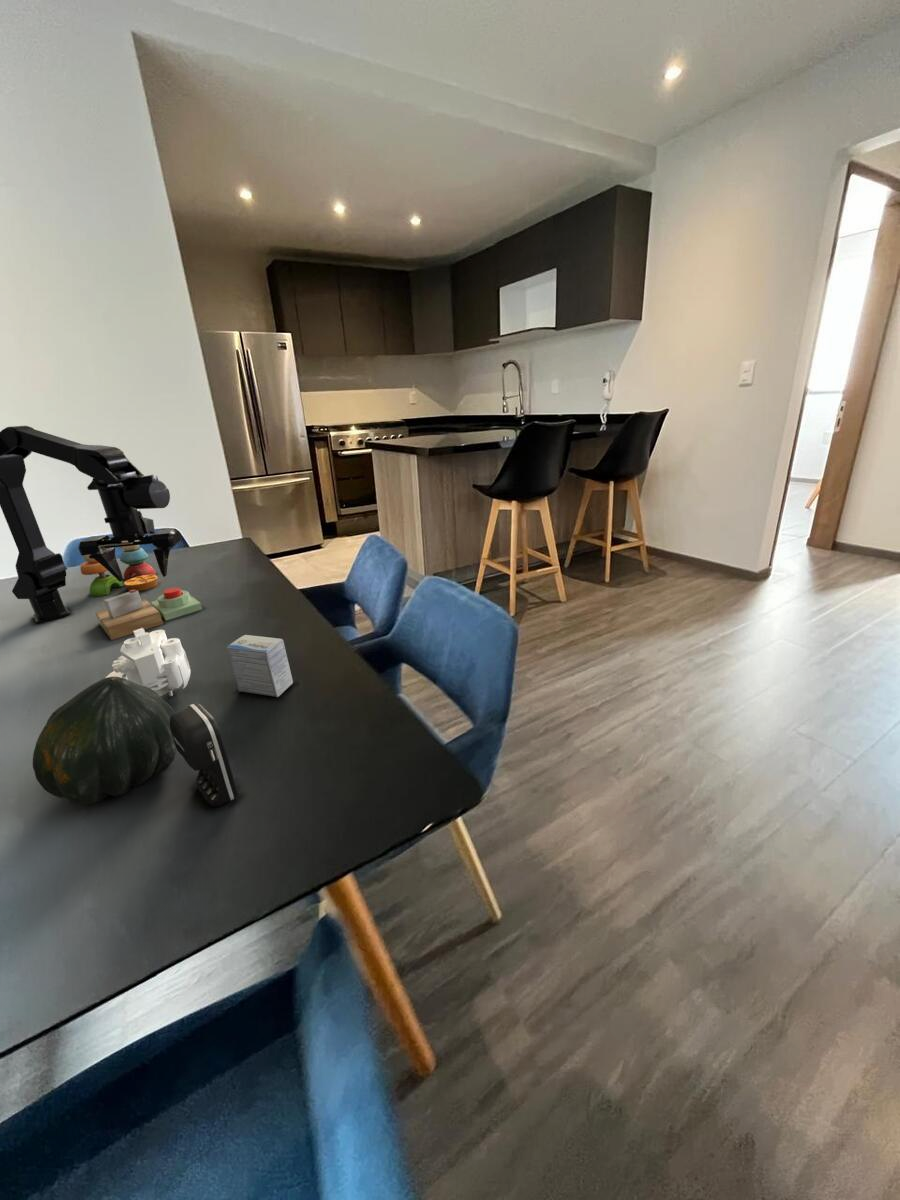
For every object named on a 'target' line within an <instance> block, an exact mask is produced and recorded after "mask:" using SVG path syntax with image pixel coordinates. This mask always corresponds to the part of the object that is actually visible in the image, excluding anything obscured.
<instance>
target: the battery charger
mask: <svg viewBox="0 0 900 1200" xmlns="http://www.w3.org/2000/svg"><path fill="white" fill-rule="evenodd" d="M170 728H171V732H172V736H173V739H174V743H175V746H176V751H178V753H179V754H180V756H182V758H183V759H184V761H185V762H186V764H187V765H188V766H189V767H190V768H191V769H192V770H194V771H198V774H197V778H196V780H195V786H196V788H197V790H198V791H199V792H200V794H201V795H202V796H203V798H204V799H205V800H206V803H208V804H209V805H210V806H211V807H213V808H214V807H220V806H222V805H224V804H227V803H228V802H230V801H231V802H232V801H233V800H235V798H237V797H238V795H239V791H238V788H237V784H236V781H235V778H234V773H233V771H232V767H231V763H230V759H229V757H228V753H227V749H226V746H225V743H224V740H223V736H222V733H221V730H220V727H219V725H218V723H217V721H216V719H215V718H214V716H213V715H212V714H211V713H210V712H209V711H208V710H207V709H206V708H205V707H204V706H203V705H202V704H201V703H200V702H199V703H198V702H197V703H192V704H189V705H188V706H187V707H185V708H182V709H180V710H178V711H176V712H175V713H174V714H173V715H172V716H171V718H170Z"/></svg>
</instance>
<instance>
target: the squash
mask: <svg viewBox="0 0 900 1200" xmlns="http://www.w3.org/2000/svg"><path fill="white" fill-rule="evenodd" d="M174 713H176V712H175V711H174V709H173V707H172V706H171V705H170V704H169V703H168V701H165V700H164V699H163V698H162V696H161V697H160V696H159V695H158V694H157V693H156V692H155V691H154V690H152V689H150V688H148V687H146V686H144V685H142V684H139V683H135V682H133V681H130V680H127V679H124V678H120V677H108V678H106V677H105V678H101V679H100V680H98V681H96V682H94V683H93V684H91V685H89V686H88V687H86V688H85V689H83V690H81V691H79V692H78V693H77V694H76V695H74V696H73V697H72V698H71V699H69V700H68V701H66V702H65V703H63V704H62V705H60V706H59V707H58V708H56V710H55V711H53V712H52V713H51V715H50V716H49V717H48V719H47V721H46V723H45V725H44V727H43V728H42V730H41V732H40V733H39V735H38V738H37V740H36V742H35V746H34V750H33V754H32V769H33V772H34V776H35V778H36V781H37V782H38V784H39V785H40V786H41V787H42V789H43V790H44V791H45V792H46V793H48V794H50V795H52V796H54V797H57V798H59V799H65V800H67V801H69V802H70V803H72V804H74V805H79V806H85V805H86V806H87V805H93V804H96V803H99V802H100V801H102V800H103V799H105V798H106V797H107V796H108V795H109V796H114V797H118V796H121V795H124V794H126V793H127V792H128V791H129V790H130V788H131V786H140V785H141V784H144V783H145V782H147V780H148V779H149V778H150V777H151V778H152V777H154V776H156V775H159V774H161V773H162V772H164V771H165V770H167V769H168V768H169V767H170V766H171V765H172V763H173V762H174V760H175V758H176V752H177V748H176V746H175V743H174V739H173V736H172V732H171V728H170V718H171V716H172V715H173V714H174Z"/></svg>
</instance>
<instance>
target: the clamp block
mask: <svg viewBox="0 0 900 1200" xmlns="http://www.w3.org/2000/svg"><path fill="white" fill-rule="evenodd" d="M141 601H142V604H143V607H142V608H140V609H137V610H134V611H132V612H129V613H126V614H123V615H121V616H118V617H115V618H112V617H110V616H109V613H108V610H107V609H103V610H99V611H97V612H95V615H96V619H97V620H98V623H99V625H100V627H101V628H102V630H103V631H104V632H105V634H106V635H107V636H108V637H109V639H110V640H111V641H113V640H116V639H121V638H123V637H127V636H130V635H132V634H133V635H134V632H133V631H135V630H138V629H141V628H143V629H144V631H145V630H148V629H151V628H156V627H157V626H158V627H159V626H161V625H163V624H164V622H163V618H162V617H161V616H160V613H159V611H157V610H156V609H155V608H154V607H153V606H152V605H154V604H151V602H149V601H147V600H146V599H145V598H143V599H141Z"/></svg>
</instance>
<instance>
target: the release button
mask: <svg viewBox="0 0 900 1200" xmlns="http://www.w3.org/2000/svg"><path fill="white" fill-rule="evenodd" d="M181 590H182V589H181V588H180V587H170V588H166V589H164V590H163V591H162V593H163V594H164V597H165V599H172V598H176V597H179V596H181V595H182V593H181ZM163 594H162V595H163Z"/></svg>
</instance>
